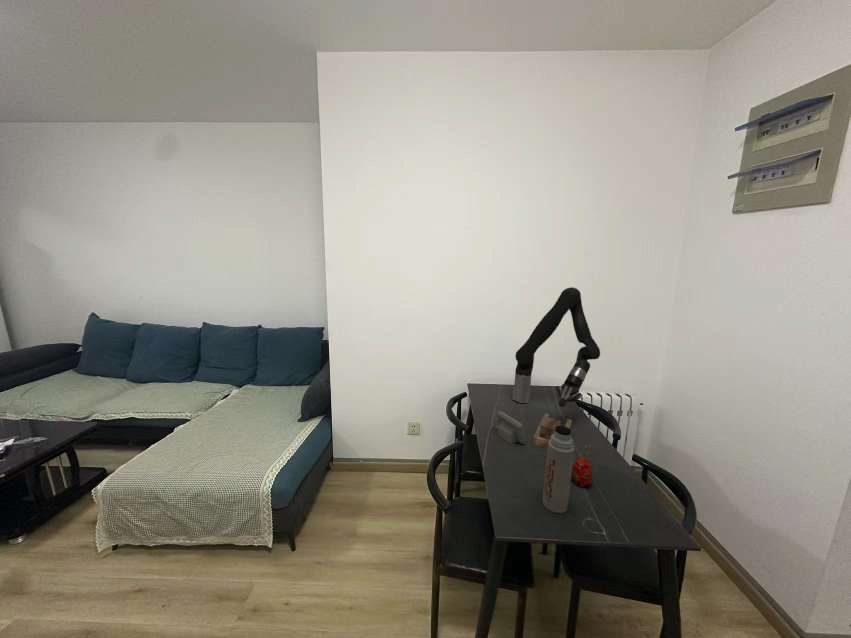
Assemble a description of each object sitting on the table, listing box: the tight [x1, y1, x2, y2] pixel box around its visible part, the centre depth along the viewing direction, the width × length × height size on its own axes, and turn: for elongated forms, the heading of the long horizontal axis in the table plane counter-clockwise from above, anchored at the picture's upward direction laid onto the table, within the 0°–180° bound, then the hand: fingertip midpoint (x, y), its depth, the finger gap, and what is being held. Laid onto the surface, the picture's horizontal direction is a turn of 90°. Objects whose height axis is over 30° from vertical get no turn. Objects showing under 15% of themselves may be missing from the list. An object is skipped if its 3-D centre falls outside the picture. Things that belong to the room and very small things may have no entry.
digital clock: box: [496, 410, 526, 445], centre depth 150 cm, size 16×9×11 cm, turn 17°
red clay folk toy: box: [571, 444, 593, 488], centre depth 120 cm, size 8×7×15 cm
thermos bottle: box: [542, 425, 575, 514], centre depth 107 cm, size 8×8×28 cm
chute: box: [532, 413, 573, 450], centre depth 154 cm, size 13×28×4 cm, turn 150°
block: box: [539, 416, 562, 440], centre depth 148 cm, size 6×10×9 cm, turn 141°
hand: (560, 406), depth 158 cm, fingers closed
